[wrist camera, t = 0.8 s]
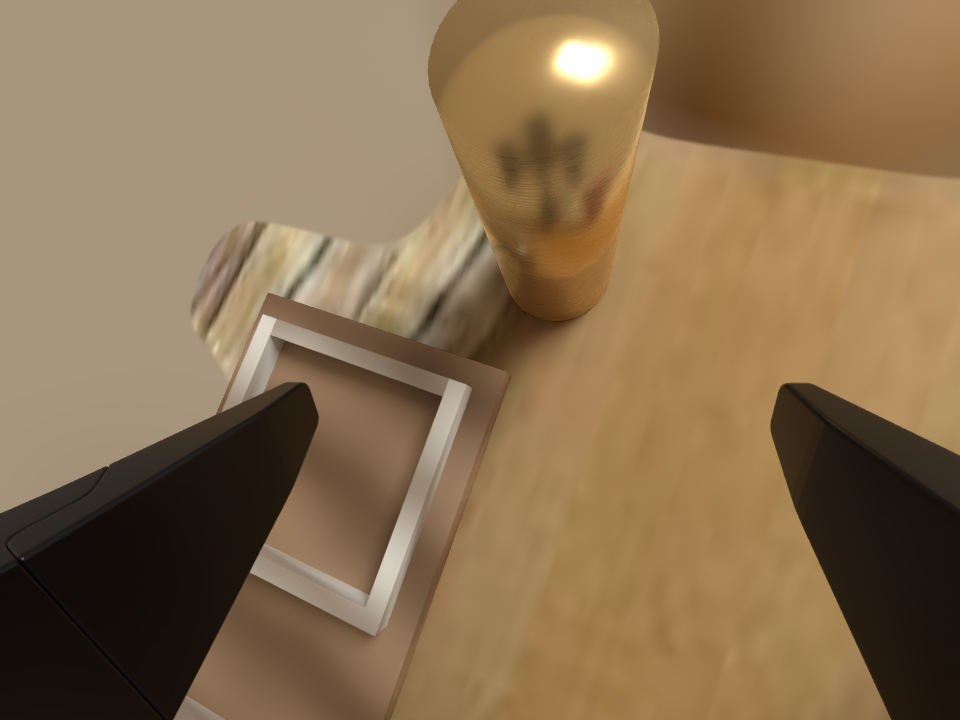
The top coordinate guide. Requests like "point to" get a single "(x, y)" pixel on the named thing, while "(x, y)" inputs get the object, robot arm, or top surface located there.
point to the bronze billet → (547, 134)
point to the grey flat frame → (348, 519)
